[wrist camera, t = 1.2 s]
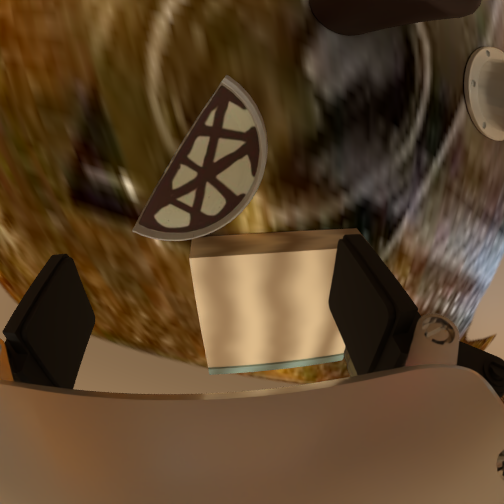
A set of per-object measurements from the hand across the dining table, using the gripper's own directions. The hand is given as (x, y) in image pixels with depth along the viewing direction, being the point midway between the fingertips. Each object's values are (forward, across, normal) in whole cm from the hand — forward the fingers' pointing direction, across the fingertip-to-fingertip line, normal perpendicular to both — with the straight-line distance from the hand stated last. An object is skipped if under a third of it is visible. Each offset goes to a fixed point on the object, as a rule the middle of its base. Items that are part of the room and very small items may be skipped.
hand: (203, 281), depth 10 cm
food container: (+20, 0, 0) cm, 20 cm away
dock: (+20, -6, +18) cm, 27 cm away
